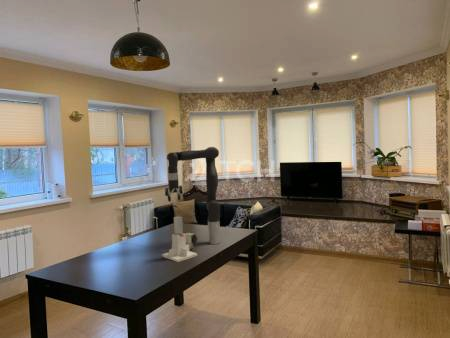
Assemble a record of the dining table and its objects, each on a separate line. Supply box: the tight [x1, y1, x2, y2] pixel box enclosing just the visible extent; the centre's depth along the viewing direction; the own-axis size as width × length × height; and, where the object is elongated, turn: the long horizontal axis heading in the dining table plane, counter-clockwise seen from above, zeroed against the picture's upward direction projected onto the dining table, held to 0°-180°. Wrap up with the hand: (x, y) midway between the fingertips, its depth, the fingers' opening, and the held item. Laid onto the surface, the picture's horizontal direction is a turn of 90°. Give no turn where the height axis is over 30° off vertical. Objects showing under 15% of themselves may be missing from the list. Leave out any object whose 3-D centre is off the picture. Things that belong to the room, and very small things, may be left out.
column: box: [173, 216, 184, 235], centre depth 231 cm, size 4×4×20 cm
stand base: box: [161, 233, 198, 263], centre depth 232 cm, size 17×18×16 cm
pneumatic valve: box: [184, 232, 198, 250], centre depth 250 cm, size 6×12×12 cm, turn 56°
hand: (174, 200), depth 250 cm, fingers open, 8 cm apart
